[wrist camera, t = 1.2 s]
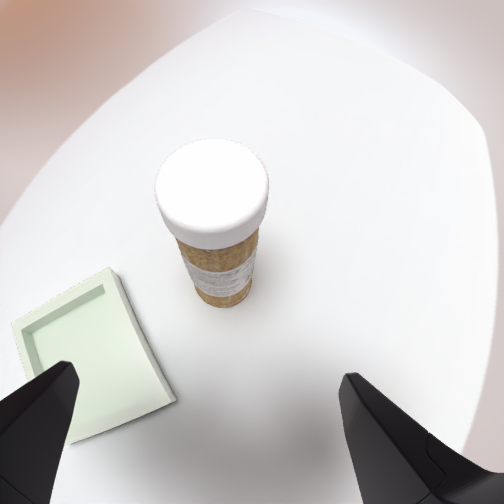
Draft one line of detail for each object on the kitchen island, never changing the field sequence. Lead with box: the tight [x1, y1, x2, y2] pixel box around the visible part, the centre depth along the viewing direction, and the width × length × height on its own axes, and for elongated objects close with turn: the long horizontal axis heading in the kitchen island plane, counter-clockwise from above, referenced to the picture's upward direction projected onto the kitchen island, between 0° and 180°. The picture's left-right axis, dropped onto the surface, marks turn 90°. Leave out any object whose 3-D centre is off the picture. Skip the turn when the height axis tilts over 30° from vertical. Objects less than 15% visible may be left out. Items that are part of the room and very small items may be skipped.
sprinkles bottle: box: [155, 139, 269, 307], centre depth 17 cm, size 5×5×13 cm
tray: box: [11, 267, 177, 446], centre depth 19 cm, size 11×11×2 cm
